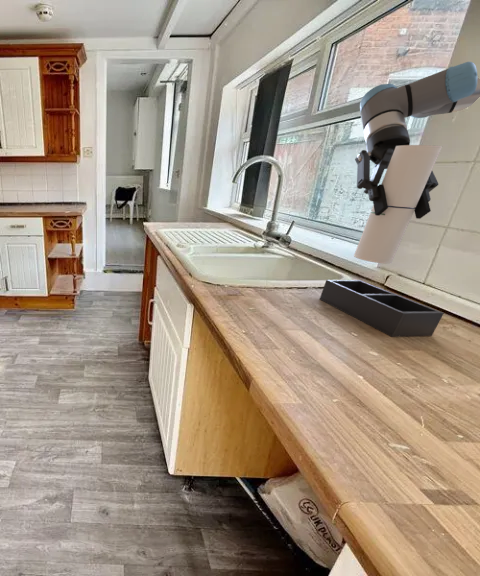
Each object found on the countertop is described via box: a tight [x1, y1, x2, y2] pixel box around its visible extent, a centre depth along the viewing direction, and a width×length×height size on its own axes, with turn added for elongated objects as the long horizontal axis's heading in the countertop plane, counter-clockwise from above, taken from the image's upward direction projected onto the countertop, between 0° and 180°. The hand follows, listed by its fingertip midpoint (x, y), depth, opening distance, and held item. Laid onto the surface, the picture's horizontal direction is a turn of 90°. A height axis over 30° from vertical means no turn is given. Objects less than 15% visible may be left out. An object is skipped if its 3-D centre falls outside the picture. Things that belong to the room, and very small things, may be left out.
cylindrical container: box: [353, 144, 443, 265], centre depth 70 cm, size 7×7×25 cm
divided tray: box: [319, 279, 445, 338], centre depth 73 cm, size 10×19×6 cm, turn 7°
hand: (402, 213), depth 67 cm, fingers closed on cylindrical container, 7 cm apart
